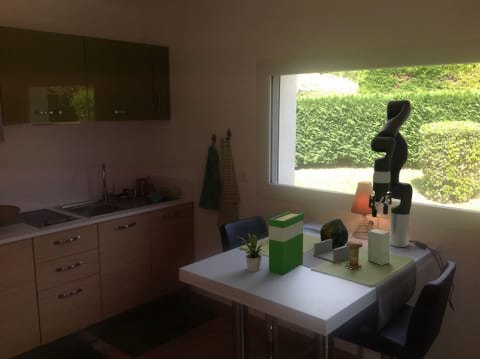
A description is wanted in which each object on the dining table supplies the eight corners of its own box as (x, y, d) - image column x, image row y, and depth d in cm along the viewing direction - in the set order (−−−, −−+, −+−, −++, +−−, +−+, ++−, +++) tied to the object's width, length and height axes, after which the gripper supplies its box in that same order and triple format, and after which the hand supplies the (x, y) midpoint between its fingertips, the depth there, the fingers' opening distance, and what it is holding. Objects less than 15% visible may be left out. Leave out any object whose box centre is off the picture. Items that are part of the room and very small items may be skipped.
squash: (310, 233, 229) (326, 216, 220) (327, 229, 239) (343, 213, 230) (325, 255, 222) (342, 238, 213) (342, 250, 232) (359, 234, 223)
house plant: (231, 265, 197) (230, 231, 195) (258, 261, 203) (258, 227, 200) (243, 276, 184) (243, 239, 182) (272, 271, 190) (272, 235, 187)
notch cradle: (329, 250, 218) (329, 238, 217) (352, 257, 207) (352, 245, 206) (313, 255, 211) (313, 243, 210) (335, 263, 200) (335, 250, 199)
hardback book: (288, 260, 204) (289, 211, 200) (302, 263, 199) (303, 213, 195) (268, 272, 189) (269, 219, 186) (283, 275, 185) (283, 221, 181)
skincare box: (389, 263, 199) (391, 232, 197) (381, 265, 196) (382, 234, 194) (374, 258, 206) (376, 228, 204) (366, 260, 203) (367, 230, 201)
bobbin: (352, 262, 200) (353, 240, 198) (364, 267, 194) (365, 243, 193) (342, 266, 196) (343, 242, 194) (355, 270, 190) (355, 246, 189)
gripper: (383, 178, 203) (382, 212, 205) (364, 181, 194) (363, 216, 196) (397, 180, 197) (396, 214, 199) (379, 183, 188) (377, 219, 191)
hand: (379, 215), depth 198 cm, fingers open, 8 cm apart
